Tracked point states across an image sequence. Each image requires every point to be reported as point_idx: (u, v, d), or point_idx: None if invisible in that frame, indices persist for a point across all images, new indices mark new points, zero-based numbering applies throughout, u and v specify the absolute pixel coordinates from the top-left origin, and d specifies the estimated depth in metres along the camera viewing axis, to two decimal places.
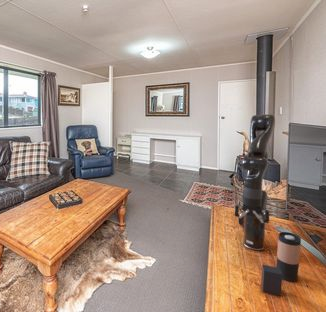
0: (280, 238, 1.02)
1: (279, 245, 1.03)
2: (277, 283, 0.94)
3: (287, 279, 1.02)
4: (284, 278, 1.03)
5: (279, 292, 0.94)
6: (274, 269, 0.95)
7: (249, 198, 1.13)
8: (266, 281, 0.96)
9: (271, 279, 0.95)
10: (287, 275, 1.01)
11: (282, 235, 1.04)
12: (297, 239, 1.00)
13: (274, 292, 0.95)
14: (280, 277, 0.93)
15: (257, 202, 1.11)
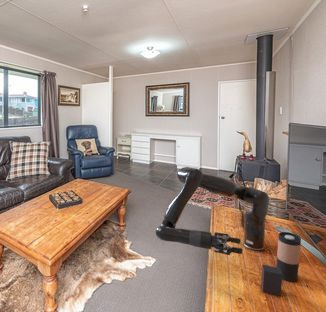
0: (280, 238, 1.02)
1: (279, 245, 1.03)
2: (277, 283, 0.94)
3: (287, 279, 1.02)
4: (284, 278, 1.03)
5: (279, 292, 0.94)
6: (274, 269, 0.95)
7: None
8: (266, 281, 0.96)
9: (271, 279, 0.95)
10: (287, 275, 1.01)
11: (282, 235, 1.04)
12: (297, 239, 1.00)
13: (274, 292, 0.95)
14: (280, 277, 0.93)
15: None
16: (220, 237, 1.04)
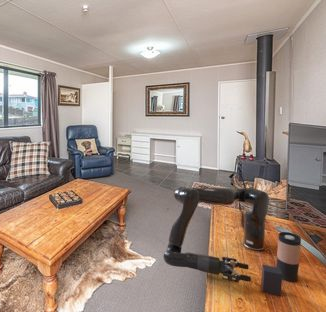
0: (280, 238, 1.02)
1: (279, 245, 1.03)
2: (277, 283, 0.94)
3: (287, 279, 1.02)
4: (284, 278, 1.03)
5: (279, 292, 0.94)
6: (274, 269, 0.95)
7: None
8: (266, 281, 0.96)
9: (271, 279, 0.95)
10: (287, 275, 1.01)
11: (282, 235, 1.04)
12: (297, 239, 1.00)
13: (274, 292, 0.95)
14: (280, 277, 0.93)
15: (212, 273, 1.05)
16: (228, 263, 1.05)
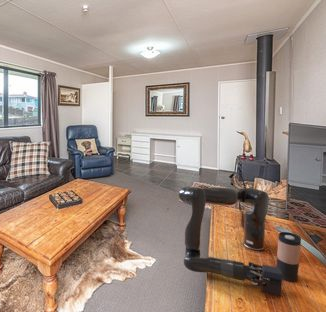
0: (280, 238, 1.02)
1: (279, 245, 1.03)
2: None
3: (287, 279, 1.02)
4: (284, 278, 1.03)
5: (279, 292, 0.94)
6: (274, 269, 0.95)
7: None
8: None
9: None
10: (287, 275, 1.01)
11: (282, 235, 1.04)
12: (297, 239, 1.00)
13: (274, 292, 0.95)
14: (280, 277, 0.93)
15: None
16: (253, 268, 1.00)
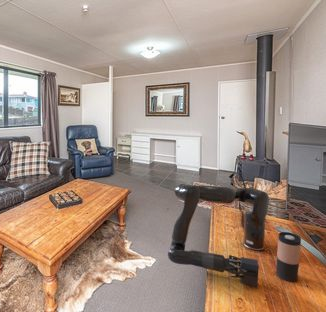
0: (280, 238, 1.02)
1: (279, 245, 1.03)
2: None
3: (287, 279, 1.02)
4: (284, 278, 1.03)
5: (256, 283, 0.99)
6: (251, 261, 1.00)
7: None
8: None
9: None
10: (287, 275, 1.01)
11: (282, 235, 1.04)
12: (297, 239, 1.00)
13: (251, 283, 1.00)
14: (257, 268, 0.98)
15: None
16: (233, 261, 1.05)
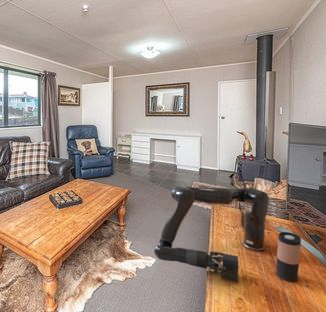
0: (280, 238, 1.02)
1: (279, 245, 1.03)
2: None
3: (287, 279, 1.02)
4: (284, 278, 1.03)
5: (236, 278, 1.04)
6: (232, 257, 1.05)
7: None
8: None
9: (229, 266, 1.04)
10: (287, 275, 1.01)
11: (282, 235, 1.04)
12: (297, 239, 1.00)
13: (232, 278, 1.04)
14: (236, 264, 1.02)
15: None
16: (215, 257, 1.10)
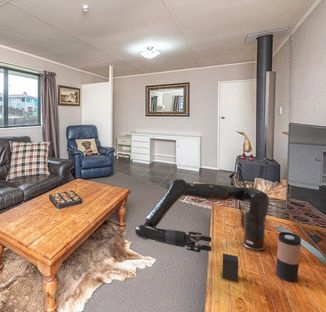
0: (280, 238, 1.02)
1: (279, 245, 1.03)
2: (234, 269, 1.03)
3: (287, 279, 1.02)
4: (284, 278, 1.03)
5: (236, 278, 1.04)
6: (232, 257, 1.05)
7: None
8: (225, 268, 1.05)
9: (229, 266, 1.04)
10: (287, 275, 1.01)
11: (282, 235, 1.04)
12: (297, 239, 1.00)
13: (232, 278, 1.04)
14: (236, 264, 1.02)
15: None
16: (193, 236, 1.13)
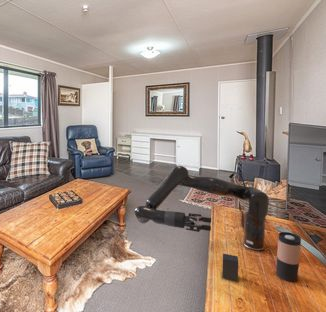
0: (280, 238, 1.02)
1: (279, 245, 1.03)
2: (234, 269, 1.03)
3: (287, 279, 1.02)
4: (284, 278, 1.03)
5: (236, 278, 1.04)
6: (232, 257, 1.05)
7: None
8: (225, 268, 1.05)
9: (229, 266, 1.04)
10: (287, 275, 1.01)
11: (282, 235, 1.04)
12: (297, 239, 1.00)
13: (232, 278, 1.04)
14: (236, 264, 1.02)
15: None
16: (192, 217, 1.11)
